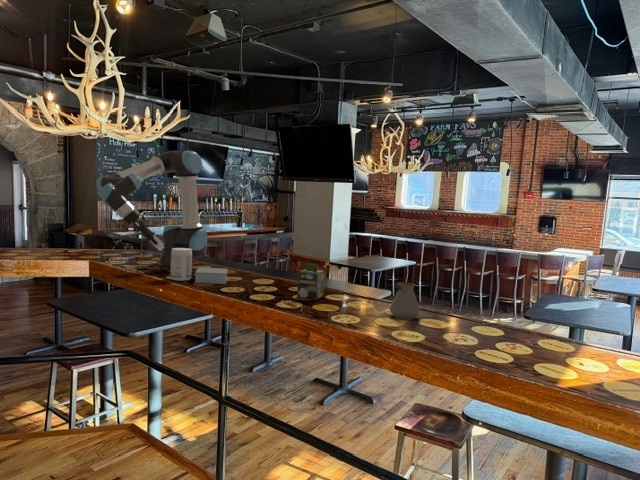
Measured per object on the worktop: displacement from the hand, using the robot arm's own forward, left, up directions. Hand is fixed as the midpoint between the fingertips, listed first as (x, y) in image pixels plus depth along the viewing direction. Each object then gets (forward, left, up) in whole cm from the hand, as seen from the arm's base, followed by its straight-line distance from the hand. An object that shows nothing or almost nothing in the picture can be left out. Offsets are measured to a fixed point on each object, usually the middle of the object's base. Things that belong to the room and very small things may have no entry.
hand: (162, 247), depth 205 cm
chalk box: (+29, +67, -15) cm, 74 cm away
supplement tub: (-2, +9, -15) cm, 18 cm away
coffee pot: (+64, +95, -15) cm, 115 cm away
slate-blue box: (-2, +23, -15) cm, 28 cm away
